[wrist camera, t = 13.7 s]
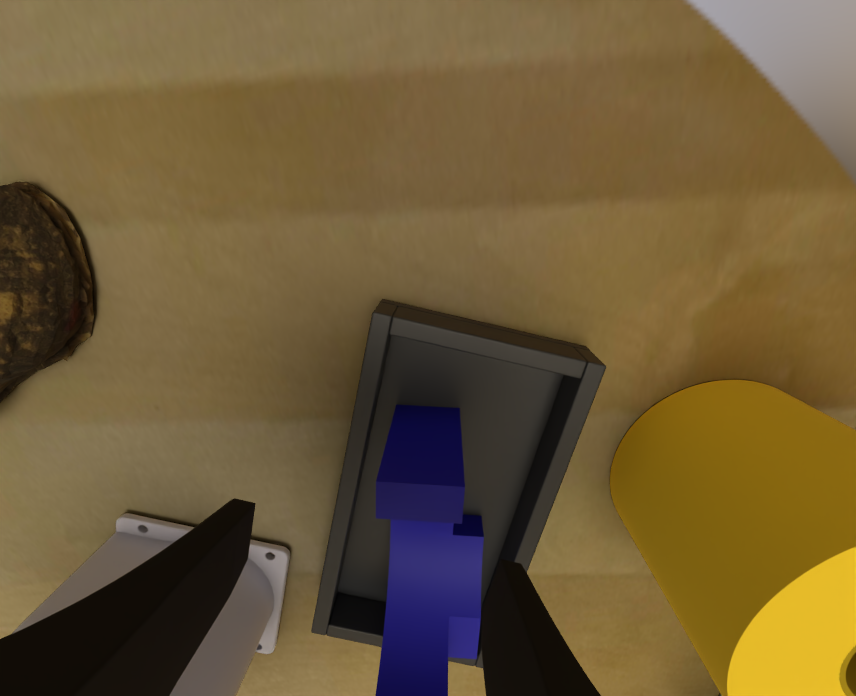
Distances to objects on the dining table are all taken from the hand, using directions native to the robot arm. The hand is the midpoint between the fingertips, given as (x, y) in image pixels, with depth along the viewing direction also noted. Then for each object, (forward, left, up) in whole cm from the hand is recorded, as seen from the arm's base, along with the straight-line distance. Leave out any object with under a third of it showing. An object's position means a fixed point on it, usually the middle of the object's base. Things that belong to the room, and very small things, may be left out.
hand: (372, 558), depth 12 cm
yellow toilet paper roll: (+16, +1, -9) cm, 18 cm away
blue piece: (+3, -5, -9) cm, 10 cm away
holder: (+3, -3, -9) cm, 10 cm away
